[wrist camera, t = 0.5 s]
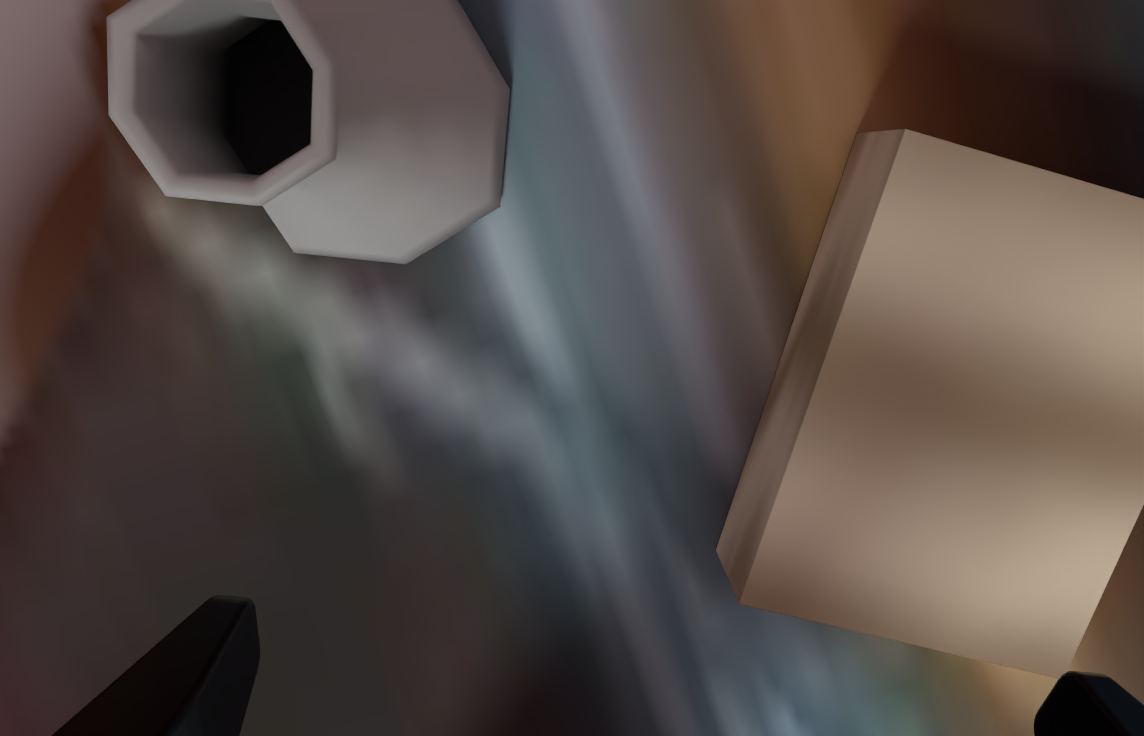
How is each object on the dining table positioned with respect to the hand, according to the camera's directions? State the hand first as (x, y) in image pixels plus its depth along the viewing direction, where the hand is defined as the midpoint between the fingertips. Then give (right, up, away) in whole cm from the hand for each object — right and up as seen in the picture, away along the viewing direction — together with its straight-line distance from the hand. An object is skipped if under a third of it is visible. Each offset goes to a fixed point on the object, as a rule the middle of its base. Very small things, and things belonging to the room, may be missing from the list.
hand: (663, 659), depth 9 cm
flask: (-6, +9, +12) cm, 17 cm away
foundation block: (+9, +2, +14) cm, 17 cm away
